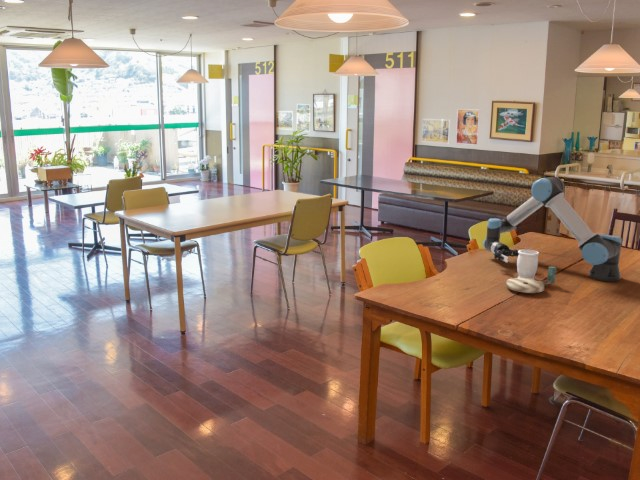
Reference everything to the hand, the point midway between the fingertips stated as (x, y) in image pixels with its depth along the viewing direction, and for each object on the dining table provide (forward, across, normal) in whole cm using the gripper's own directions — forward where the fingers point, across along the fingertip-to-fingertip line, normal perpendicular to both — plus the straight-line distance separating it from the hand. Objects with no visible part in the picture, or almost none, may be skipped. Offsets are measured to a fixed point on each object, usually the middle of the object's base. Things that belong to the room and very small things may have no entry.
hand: (519, 259), depth 325 cm
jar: (+8, 0, -9) cm, 12 cm away
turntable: (+24, +5, -7) cm, 25 cm away
